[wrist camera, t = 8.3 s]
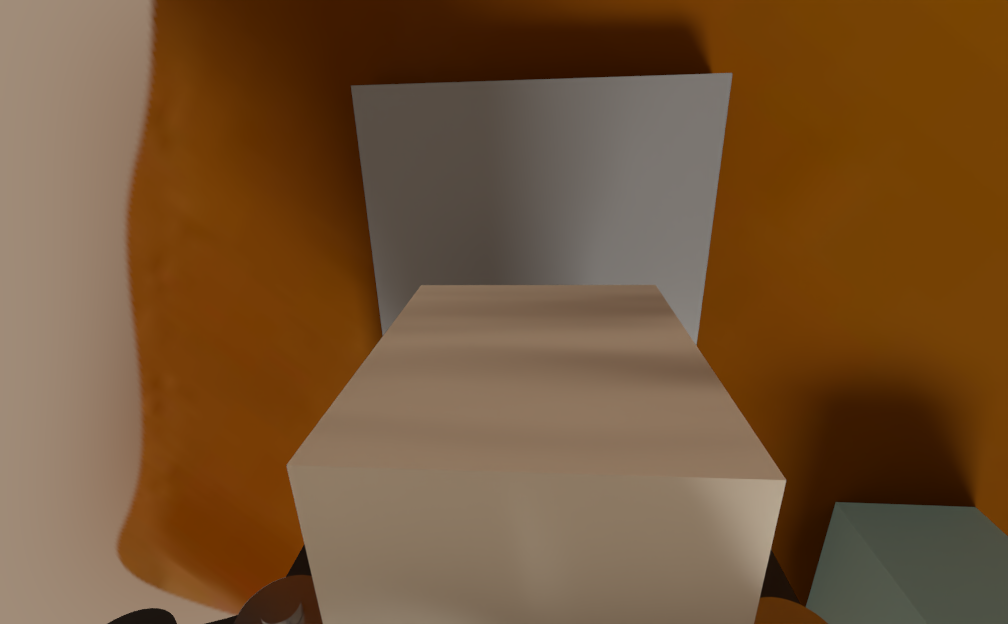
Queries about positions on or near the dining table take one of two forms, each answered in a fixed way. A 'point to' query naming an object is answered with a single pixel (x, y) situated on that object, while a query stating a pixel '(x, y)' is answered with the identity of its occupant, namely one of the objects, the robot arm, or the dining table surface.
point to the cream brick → (536, 469)
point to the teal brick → (911, 566)
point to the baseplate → (543, 183)
